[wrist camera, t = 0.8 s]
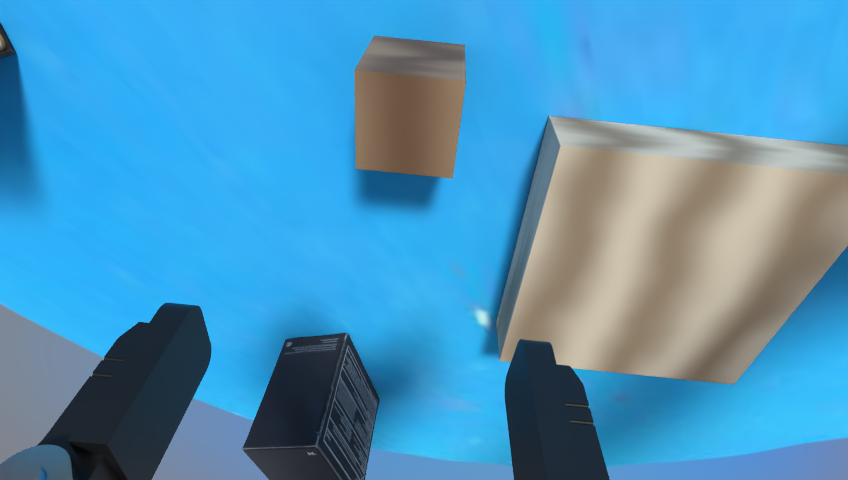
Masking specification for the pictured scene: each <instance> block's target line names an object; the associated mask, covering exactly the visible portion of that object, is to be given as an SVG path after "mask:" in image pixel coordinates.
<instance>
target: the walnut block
mask: <svg viewBox="0 0 848 480" xmlns="http://www.w3.org/2000/svg"><path fill="white" fill-rule="evenodd" d="M465 84H466V70H465V45H461V44H451V43H441V42H431V41H421V40H411V39H401V38H391V37H381V36H374V37H373V39H372V40H371V42H370V44H369V46H368V47H367V49H366V51H365V53H364V54H363V56H362V58H361V60H360V61H359V63H358V65H357V67H356V68H355V140H356V169H364V170H374V171H384V172H394V173H404V174H414V175H424V176H434V177H444V178H453V173H454V166H455V158H456V151H457V143H458V136H459V128H460V121H461V114H462V106H463V99H464V91H465Z"/></svg>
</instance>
